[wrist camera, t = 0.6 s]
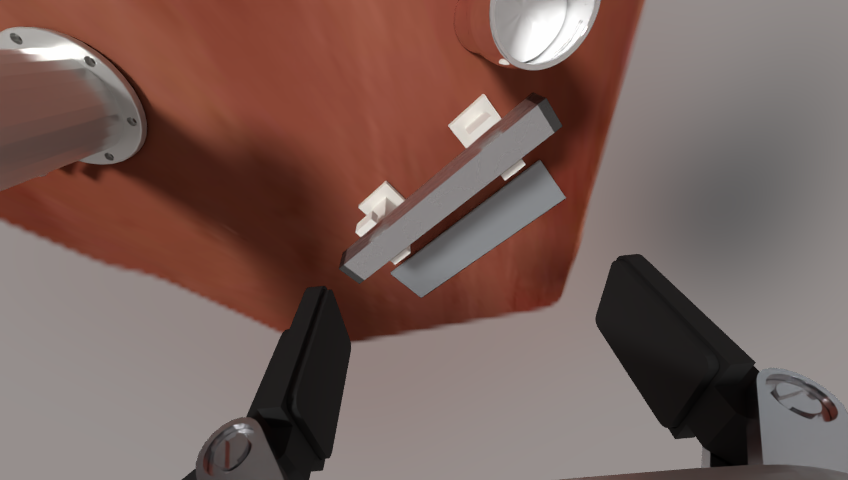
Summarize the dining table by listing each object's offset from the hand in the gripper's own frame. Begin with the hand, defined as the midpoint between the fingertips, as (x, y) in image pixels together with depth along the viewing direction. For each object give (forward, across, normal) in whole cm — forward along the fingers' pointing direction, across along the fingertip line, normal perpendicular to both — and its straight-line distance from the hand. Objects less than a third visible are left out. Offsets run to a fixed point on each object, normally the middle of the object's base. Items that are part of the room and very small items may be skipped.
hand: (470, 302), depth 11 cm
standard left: (+29, +6, +10) cm, 32 cm away
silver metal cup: (+30, -6, -8) cm, 31 cm away
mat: (+30, -5, +17) cm, 34 cm away
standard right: (+29, -6, +2) cm, 30 cm away
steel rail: (+22, 0, +6) cm, 23 cm away
